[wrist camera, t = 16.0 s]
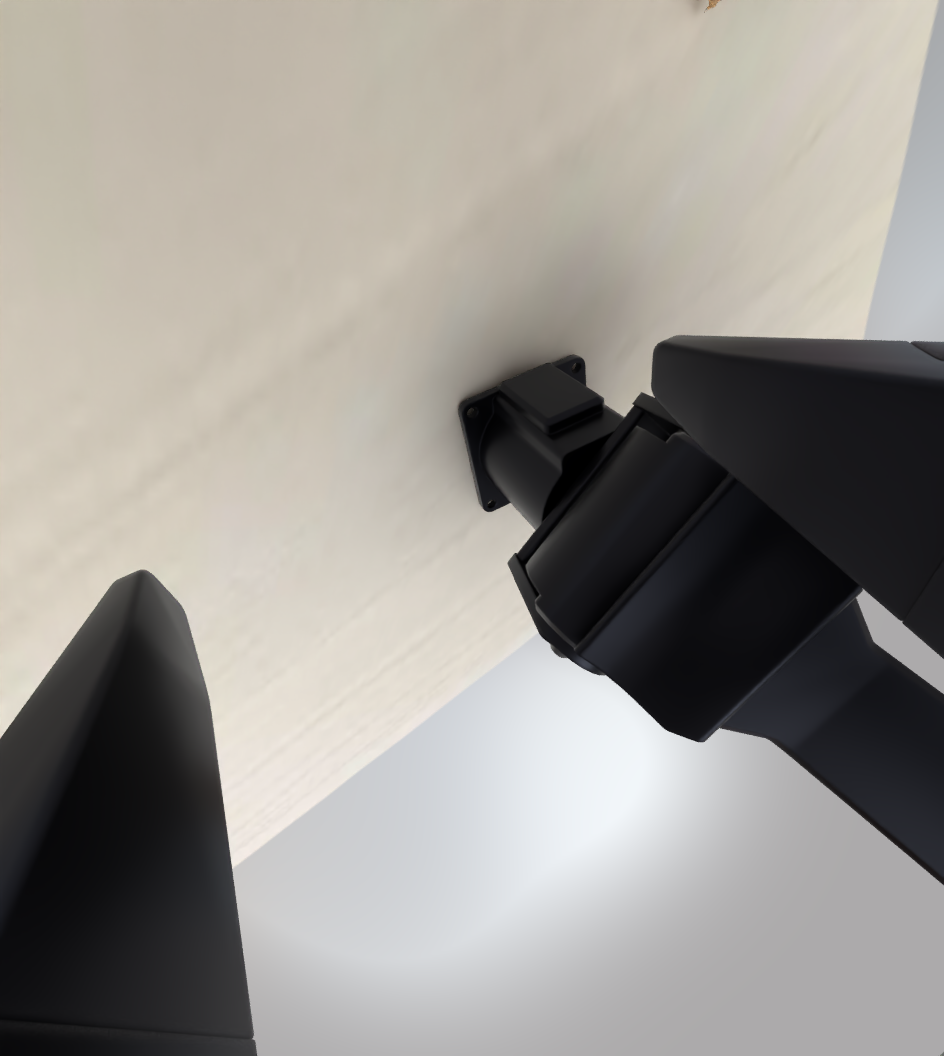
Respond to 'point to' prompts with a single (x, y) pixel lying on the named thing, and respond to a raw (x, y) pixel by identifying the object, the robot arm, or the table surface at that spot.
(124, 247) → the table surface
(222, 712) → the table surface
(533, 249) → the table surface
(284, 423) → the table surface
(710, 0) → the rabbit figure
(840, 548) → the robot arm
